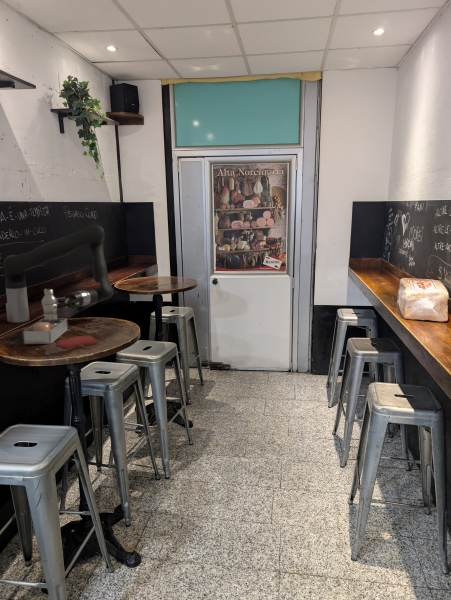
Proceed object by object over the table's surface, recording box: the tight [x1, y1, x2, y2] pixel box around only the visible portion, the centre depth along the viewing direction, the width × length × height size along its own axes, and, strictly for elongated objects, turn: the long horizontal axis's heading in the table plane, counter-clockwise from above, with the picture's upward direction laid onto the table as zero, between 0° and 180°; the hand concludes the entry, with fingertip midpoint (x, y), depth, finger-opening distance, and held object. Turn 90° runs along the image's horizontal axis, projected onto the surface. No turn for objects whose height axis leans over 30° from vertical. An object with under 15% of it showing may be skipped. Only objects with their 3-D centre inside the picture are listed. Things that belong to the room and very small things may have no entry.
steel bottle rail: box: [22, 317, 69, 345], centre depth 186 cm, size 11×22×6 cm, turn 2°
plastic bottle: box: [41, 288, 59, 324], centre depth 189 cm, size 6×7×20 cm
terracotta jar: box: [32, 322, 50, 331], centre depth 181 cm, size 7×7×7 cm
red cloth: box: [54, 335, 99, 350], centre depth 178 cm, size 18×14×2 cm
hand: (50, 305), depth 190 cm, fingers open, 8 cm apart
